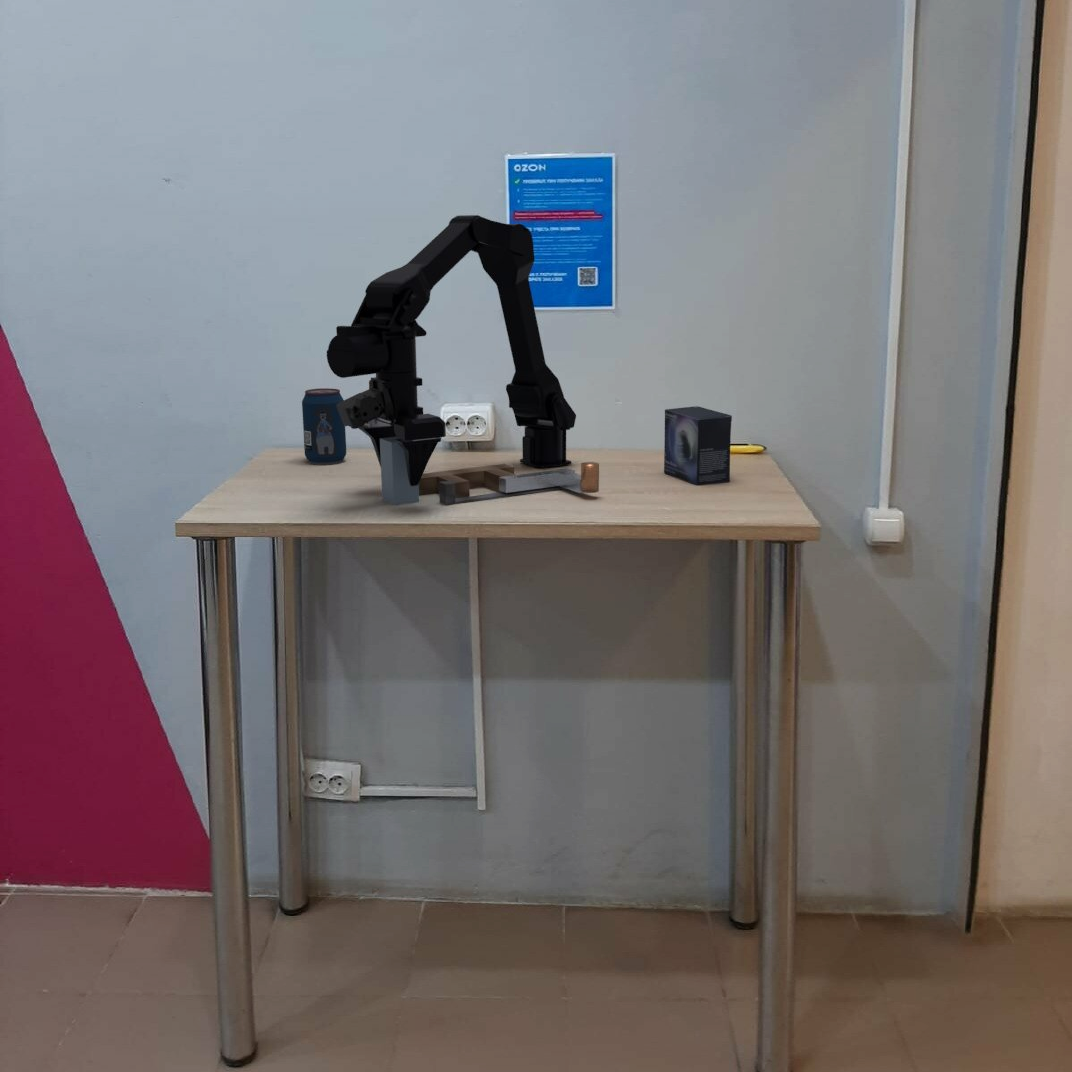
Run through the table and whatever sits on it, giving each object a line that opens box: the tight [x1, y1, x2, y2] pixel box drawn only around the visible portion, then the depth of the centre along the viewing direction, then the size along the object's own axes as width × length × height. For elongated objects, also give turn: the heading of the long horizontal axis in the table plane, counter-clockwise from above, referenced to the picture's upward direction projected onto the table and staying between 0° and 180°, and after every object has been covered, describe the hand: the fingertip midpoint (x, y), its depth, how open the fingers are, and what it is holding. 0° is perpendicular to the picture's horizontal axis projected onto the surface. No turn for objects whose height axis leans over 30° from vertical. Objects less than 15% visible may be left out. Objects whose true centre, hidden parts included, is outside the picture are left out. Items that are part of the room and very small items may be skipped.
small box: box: [663, 405, 733, 486], centre depth 182 cm, size 11×6×10 cm, turn 23°
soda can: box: [301, 387, 347, 465], centre depth 196 cm, size 7×7×12 cm
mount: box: [419, 463, 567, 506], centre depth 175 cm, size 22×11×3 cm, turn 121°
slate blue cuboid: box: [380, 437, 420, 506], centre depth 167 cm, size 4×4×9 cm
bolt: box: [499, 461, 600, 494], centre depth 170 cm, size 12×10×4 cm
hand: (399, 479), depth 168 cm, fingers open, 9 cm apart
